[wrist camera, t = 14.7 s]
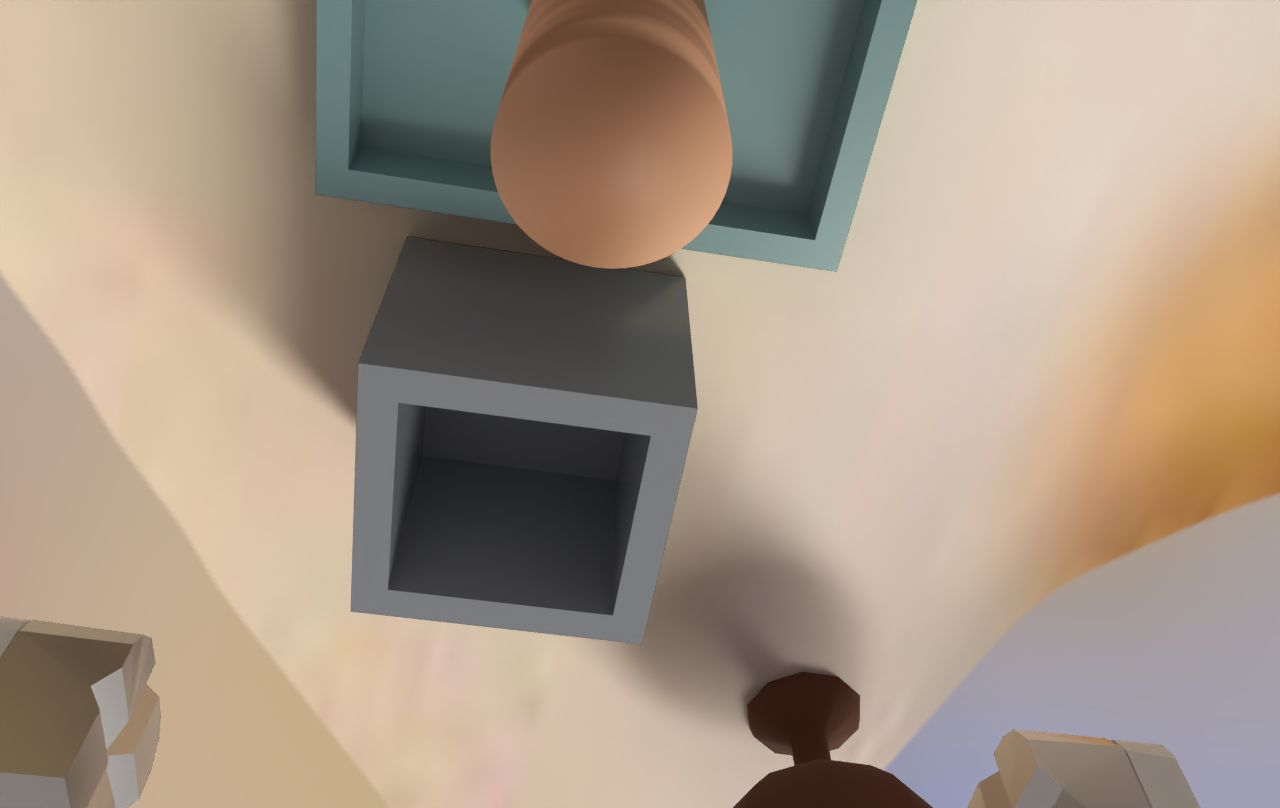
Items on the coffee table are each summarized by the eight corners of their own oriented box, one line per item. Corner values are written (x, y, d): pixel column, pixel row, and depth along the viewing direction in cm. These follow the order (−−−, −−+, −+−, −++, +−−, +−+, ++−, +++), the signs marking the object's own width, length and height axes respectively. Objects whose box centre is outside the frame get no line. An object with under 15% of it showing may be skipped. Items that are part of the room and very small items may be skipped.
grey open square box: (685, 277, 40) (697, 408, 33) (639, 492, 46) (642, 644, 38) (406, 236, 39) (358, 363, 32) (394, 461, 45) (350, 611, 38)
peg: (716, -75, 33) (756, 60, 22) (684, 91, 35) (706, 283, 25) (546, -105, 32) (502, 17, 21) (528, 66, 35) (480, 250, 24)
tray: (949, -213, 32) (976, -202, 29) (823, 233, 39) (836, 272, 37) (344, -331, 30) (318, -330, 27) (336, 159, 38) (315, 194, 35)
